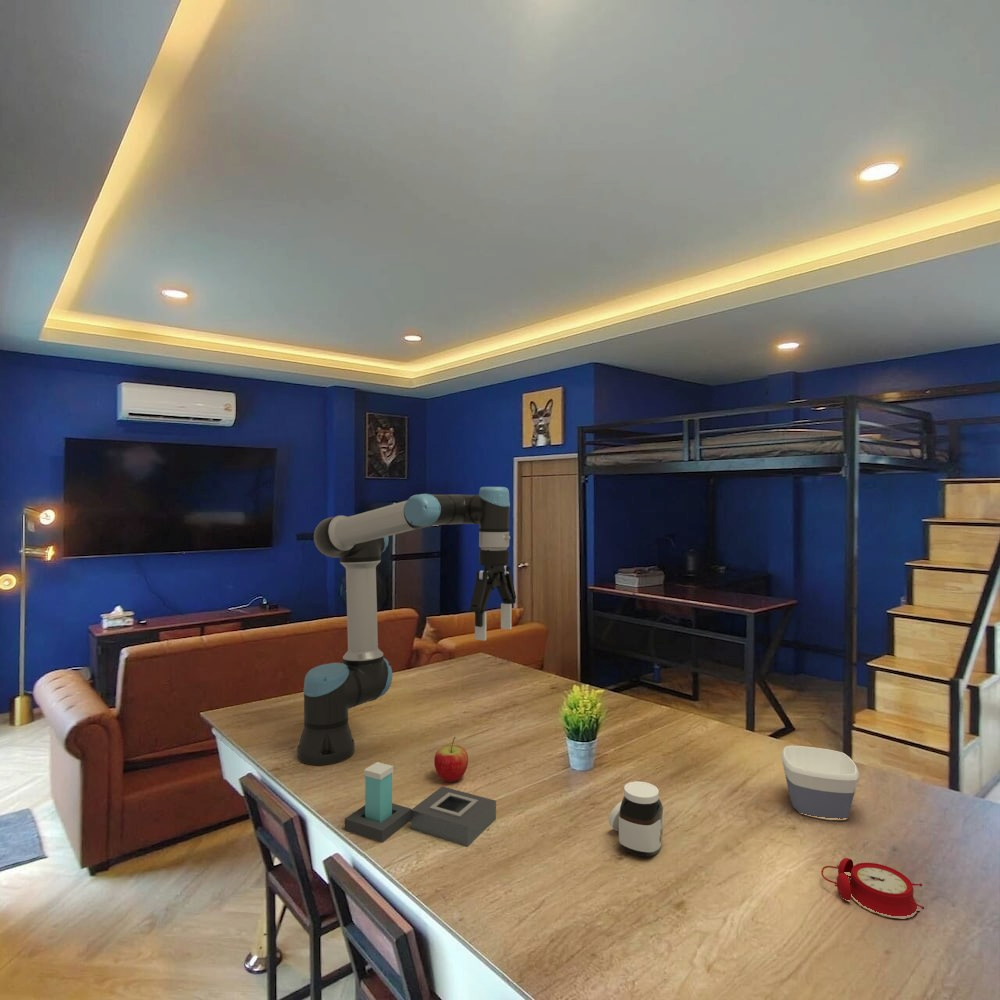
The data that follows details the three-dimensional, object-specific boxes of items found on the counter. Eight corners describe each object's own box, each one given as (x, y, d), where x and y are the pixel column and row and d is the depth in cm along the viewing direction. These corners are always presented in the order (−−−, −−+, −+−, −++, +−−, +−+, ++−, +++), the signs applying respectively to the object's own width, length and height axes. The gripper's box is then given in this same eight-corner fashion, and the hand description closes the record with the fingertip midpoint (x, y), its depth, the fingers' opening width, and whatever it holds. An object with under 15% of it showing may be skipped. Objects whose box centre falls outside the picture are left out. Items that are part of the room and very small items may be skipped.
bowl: (849, 798, 143) (850, 750, 143) (865, 831, 129) (865, 779, 129) (778, 787, 148) (778, 742, 148) (785, 819, 134) (785, 768, 134)
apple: (473, 775, 154) (473, 735, 154) (457, 789, 147) (457, 748, 147) (445, 769, 158) (445, 730, 158) (428, 783, 150) (428, 742, 150)
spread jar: (651, 865, 117) (652, 804, 117) (596, 847, 123) (596, 789, 123) (670, 836, 127) (670, 780, 127) (618, 820, 133) (618, 767, 133)
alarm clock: (927, 910, 99) (826, 860, 107) (917, 944, 100) (816, 892, 108) (924, 876, 108) (830, 833, 116) (914, 908, 109) (822, 863, 117)
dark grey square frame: (344, 829, 129) (344, 818, 129) (375, 808, 138) (375, 798, 138) (382, 842, 124) (382, 830, 124) (411, 819, 133) (411, 808, 133)
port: (410, 828, 129) (410, 808, 129) (442, 803, 140) (442, 785, 140) (467, 846, 123) (467, 825, 123) (495, 818, 133) (496, 799, 133)
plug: (363, 827, 130) (363, 769, 130) (377, 817, 134) (377, 761, 134) (380, 832, 128) (380, 774, 128) (393, 822, 132) (393, 766, 132)
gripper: (483, 553, 139) (482, 646, 139) (528, 545, 161) (528, 626, 161) (455, 551, 143) (454, 642, 143) (503, 544, 165) (503, 623, 165)
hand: (493, 634), depth 152 cm, fingers open, 13 cm apart
